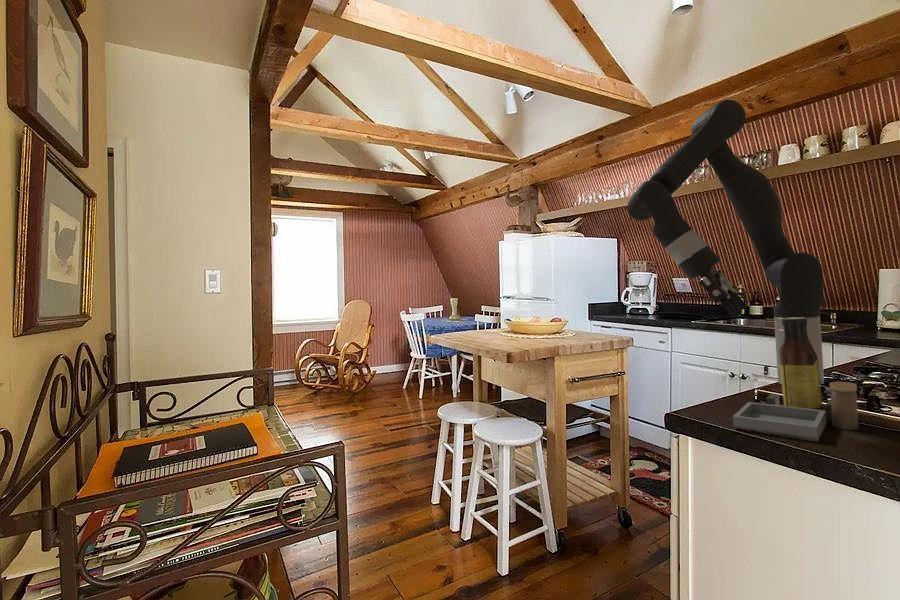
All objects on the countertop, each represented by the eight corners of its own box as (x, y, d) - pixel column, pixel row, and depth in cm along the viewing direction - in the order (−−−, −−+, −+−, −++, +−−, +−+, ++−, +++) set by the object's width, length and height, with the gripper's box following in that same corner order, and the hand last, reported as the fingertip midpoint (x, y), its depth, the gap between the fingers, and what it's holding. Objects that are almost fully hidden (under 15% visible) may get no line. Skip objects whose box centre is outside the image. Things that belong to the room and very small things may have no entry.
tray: (748, 413, 94) (748, 401, 93) (826, 423, 84) (825, 410, 84) (733, 429, 86) (732, 416, 85) (817, 441, 76) (816, 427, 76)
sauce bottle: (831, 417, 87) (825, 317, 87) (799, 419, 88) (793, 320, 87) (805, 408, 94) (799, 315, 93) (775, 410, 94) (769, 317, 93)
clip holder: (766, 406, 97) (766, 392, 97) (845, 415, 88) (844, 400, 88) (761, 412, 94) (760, 398, 94) (843, 422, 84) (842, 406, 84)
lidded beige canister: (833, 422, 85) (830, 380, 85) (860, 425, 82) (857, 382, 82) (830, 427, 82) (828, 385, 82) (858, 431, 80) (855, 387, 79)
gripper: (684, 262, 109) (729, 316, 105) (670, 266, 98) (719, 327, 94) (712, 243, 105) (760, 298, 100) (700, 245, 94) (754, 307, 90)
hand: (740, 312), depth 97 cm, fingers open, 8 cm apart
